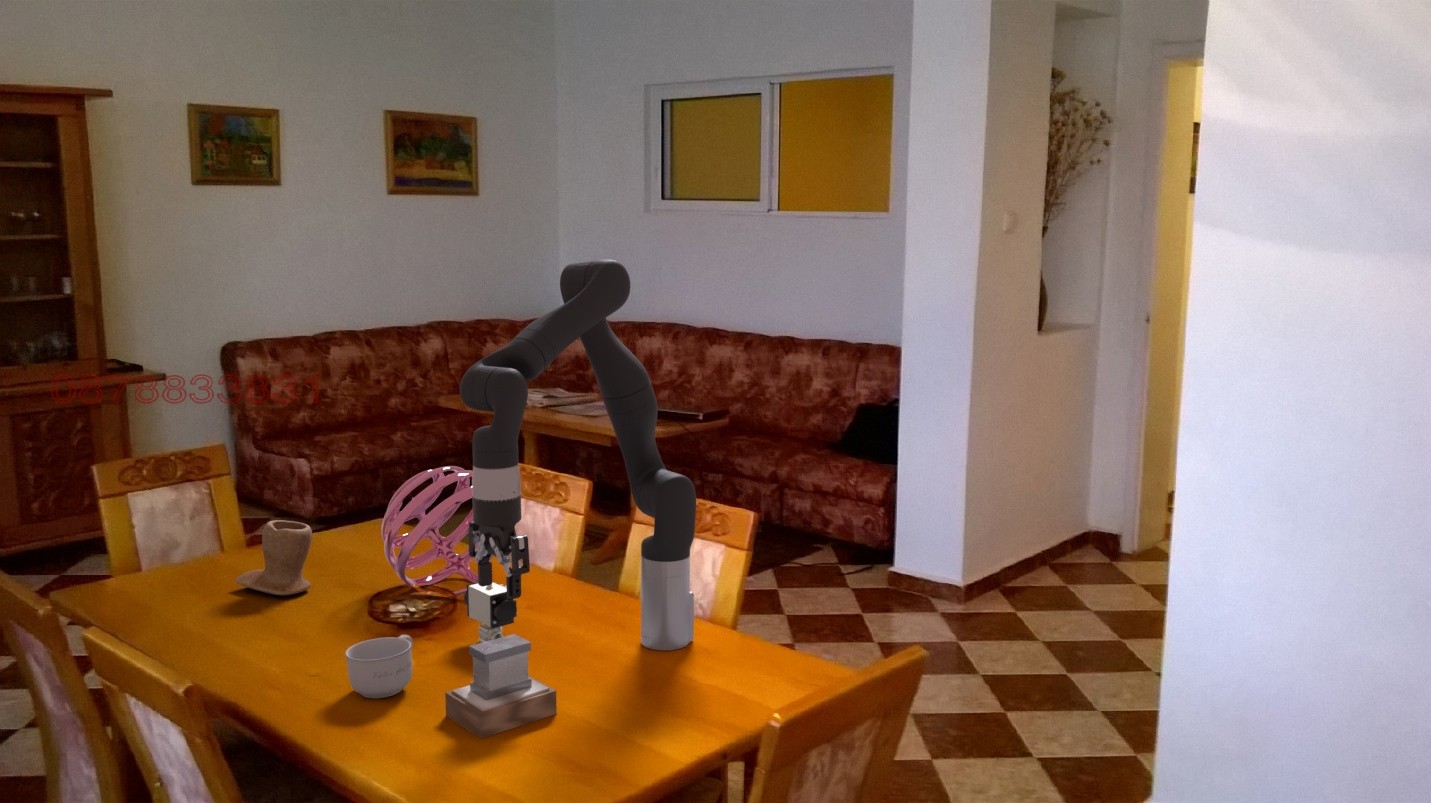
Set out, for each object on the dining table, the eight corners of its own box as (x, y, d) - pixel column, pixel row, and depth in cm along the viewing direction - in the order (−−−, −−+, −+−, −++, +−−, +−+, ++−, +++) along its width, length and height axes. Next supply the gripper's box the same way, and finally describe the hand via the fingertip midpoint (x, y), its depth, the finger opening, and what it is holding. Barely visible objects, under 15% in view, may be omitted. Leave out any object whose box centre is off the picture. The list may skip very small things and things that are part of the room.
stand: (519, 693, 199) (519, 668, 199) (556, 713, 191) (556, 688, 191) (445, 715, 190) (445, 689, 189) (481, 738, 182) (480, 711, 181)
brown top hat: (326, 588, 253) (323, 521, 251) (279, 603, 244) (275, 533, 241) (281, 576, 262) (278, 511, 259) (234, 590, 252) (230, 522, 249)
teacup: (378, 709, 192) (376, 663, 191) (333, 695, 198) (331, 649, 197) (439, 681, 204) (438, 637, 203) (395, 668, 210) (394, 625, 208)
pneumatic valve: (496, 654, 216) (495, 592, 215) (464, 637, 225) (462, 577, 223) (522, 647, 220) (521, 586, 218) (489, 631, 229) (487, 571, 227)
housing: (515, 677, 195) (514, 633, 193) (531, 686, 191) (530, 642, 190) (470, 690, 189) (469, 645, 188) (486, 700, 185) (485, 654, 184)
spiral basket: (553, 505, 248) (472, 423, 257) (447, 563, 229) (363, 472, 238) (526, 584, 266) (451, 505, 275) (425, 644, 247) (349, 557, 256)
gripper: (542, 497, 182) (544, 597, 185) (493, 481, 192) (496, 576, 195) (500, 505, 177) (503, 608, 180) (452, 488, 187) (455, 585, 190)
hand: (499, 591), depth 187 cm, fingers open, 8 cm apart
